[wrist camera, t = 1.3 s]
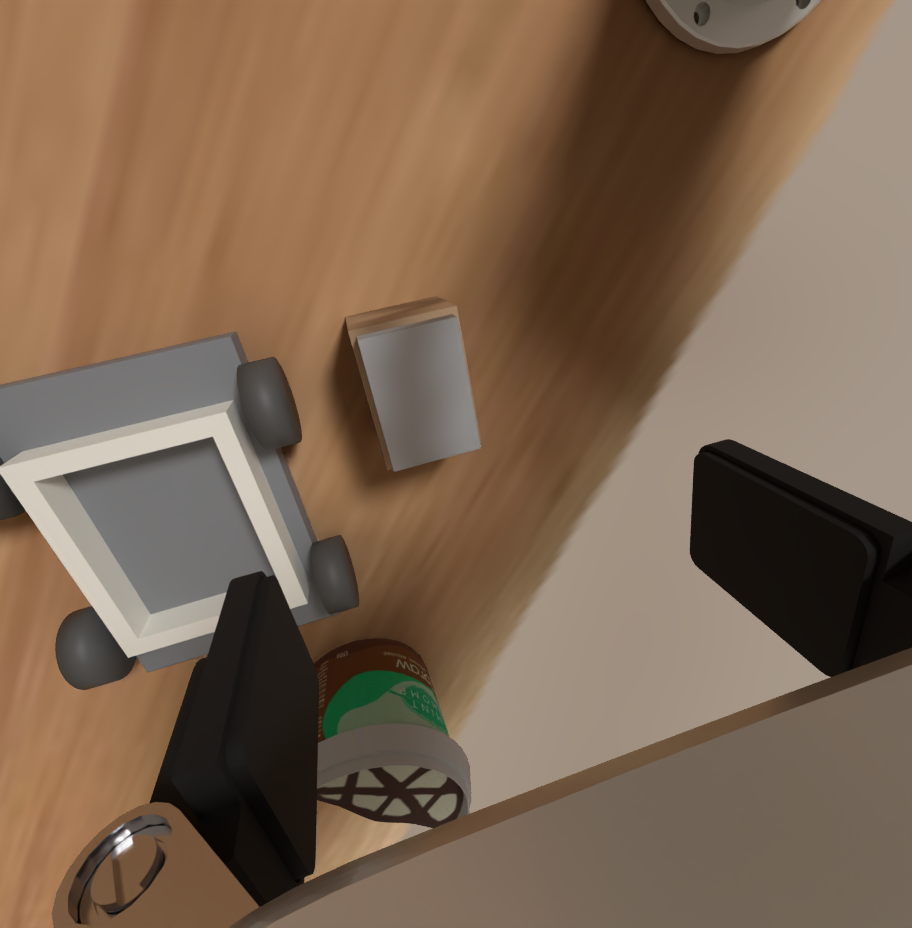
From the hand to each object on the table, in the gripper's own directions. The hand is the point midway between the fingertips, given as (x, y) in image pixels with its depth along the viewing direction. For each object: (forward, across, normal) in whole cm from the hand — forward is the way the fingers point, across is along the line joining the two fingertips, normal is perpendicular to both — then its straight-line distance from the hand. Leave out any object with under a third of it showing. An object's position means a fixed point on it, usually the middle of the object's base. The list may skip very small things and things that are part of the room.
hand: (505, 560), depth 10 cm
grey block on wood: (+19, -1, 0) cm, 19 cm away
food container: (+19, +5, +21) cm, 29 cm away
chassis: (+19, +13, +5) cm, 24 cm away
